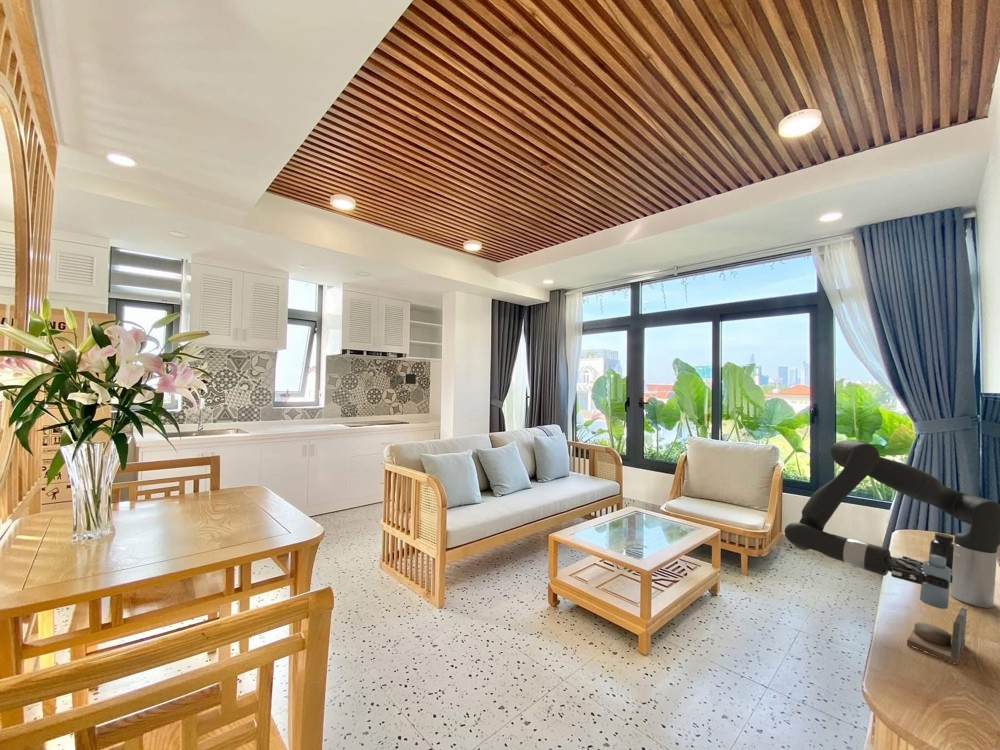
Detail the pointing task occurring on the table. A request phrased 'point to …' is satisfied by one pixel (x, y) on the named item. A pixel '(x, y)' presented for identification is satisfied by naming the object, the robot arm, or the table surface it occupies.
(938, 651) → the display stand
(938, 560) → the blue grey bottle
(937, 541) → the supplement bottle
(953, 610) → the table surface
